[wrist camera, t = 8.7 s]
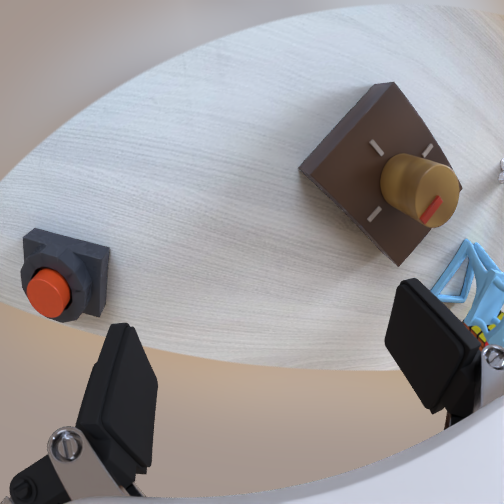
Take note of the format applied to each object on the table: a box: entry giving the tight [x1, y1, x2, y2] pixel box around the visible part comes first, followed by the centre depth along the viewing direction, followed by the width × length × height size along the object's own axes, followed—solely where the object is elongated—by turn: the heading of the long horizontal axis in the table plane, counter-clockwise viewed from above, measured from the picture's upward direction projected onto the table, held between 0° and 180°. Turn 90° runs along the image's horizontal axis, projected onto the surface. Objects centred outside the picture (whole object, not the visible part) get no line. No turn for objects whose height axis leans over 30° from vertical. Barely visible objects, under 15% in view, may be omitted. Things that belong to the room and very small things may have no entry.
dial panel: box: [299, 82, 462, 267], centre depth 21 cm, size 12×10×3 cm
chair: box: [431, 239, 504, 348], centre depth 23 cm, size 8×8×12 cm
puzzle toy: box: [464, 310, 504, 352], centre depth 32 cm, size 6×6×6 cm
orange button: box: [27, 268, 71, 318], centre depth 18 cm, size 4×4×2 cm
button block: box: [21, 228, 110, 323], centre depth 21 cm, size 8×6×4 cm
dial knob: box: [380, 153, 459, 228], centre depth 18 cm, size 4×4×5 cm
